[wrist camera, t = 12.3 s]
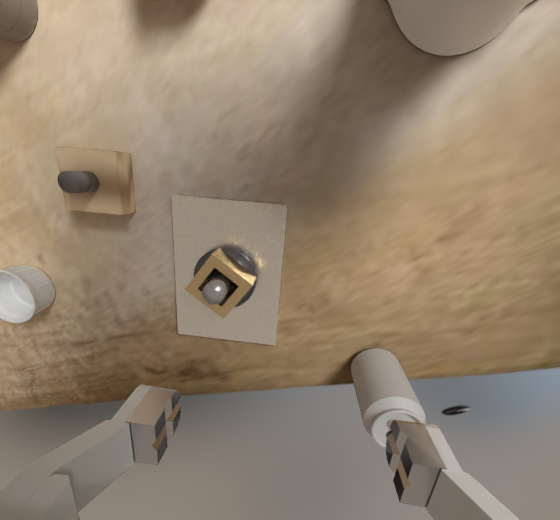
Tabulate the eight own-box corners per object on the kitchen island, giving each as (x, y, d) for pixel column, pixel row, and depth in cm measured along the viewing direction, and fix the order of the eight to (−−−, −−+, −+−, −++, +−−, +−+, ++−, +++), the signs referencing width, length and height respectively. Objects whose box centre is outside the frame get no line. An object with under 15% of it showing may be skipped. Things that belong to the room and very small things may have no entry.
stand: (74, 149, 36) (29, 143, 30) (130, 153, 36) (95, 148, 30) (83, 207, 39) (43, 213, 33) (135, 212, 38) (104, 218, 32)
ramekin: (15, 306, 46) (-14, 319, 41) (3, 258, 43) (-29, 266, 39) (63, 313, 45) (39, 327, 41) (54, 264, 42) (27, 273, 38)
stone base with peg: (174, 194, 37) (143, 198, 30) (287, 204, 36) (283, 211, 29) (180, 330, 44) (156, 360, 37) (276, 341, 43) (270, 374, 36)
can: (354, 386, 44) (371, 459, 33) (345, 349, 42) (361, 412, 31) (400, 379, 43) (435, 453, 32) (393, 341, 41) (428, 404, 30)
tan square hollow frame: (219, 247, 36) (211, 253, 33) (256, 277, 37) (252, 285, 34) (193, 281, 38) (184, 289, 35) (229, 308, 39) (223, 319, 36)
